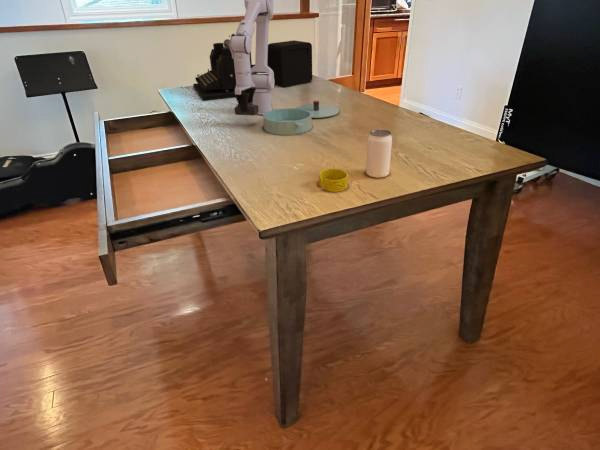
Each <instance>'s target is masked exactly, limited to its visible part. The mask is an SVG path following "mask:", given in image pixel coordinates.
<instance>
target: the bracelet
mask: <svg viewBox="0 0 600 450" xmlns="http://www.w3.org/2000/svg"><path fill="white" fill-rule="evenodd" d="M348 183H349V174H348V173H347V172H346V171H345V170H342V169H339V168H326V169H322V170H320V172H319V173H318V187H323V190H324V191H326V192H332V193H337V192H338V193H339V192H342V191H345V190H347V189H348V187H349V185H348Z"/></svg>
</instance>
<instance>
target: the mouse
mask: <svg viewBox="0 0 600 450" xmlns="http://www.w3.org/2000/svg"><path fill="white" fill-rule="evenodd" d="M258 112H259V110H258V105H254V104H253V103H252V102H250V103H248V108H247V112H241V109H240V106H239V103H238V102H237V105H236V106H235V107H234V115H235V116H256V115H258V114H257V113H258Z"/></svg>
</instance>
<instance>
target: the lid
mask: <svg viewBox="0 0 600 450" xmlns="http://www.w3.org/2000/svg"><path fill="white" fill-rule="evenodd" d="M296 108H297V109H304V110H307V111H309V112H311V114H312V119H322V118H323V119H324V118H328V117H332V116H336V115H337V114H339V112H340V109H339V107H337V106H335V105H331V104H323V103H320V101H319V100H313V102H312V104H311V103H310V104H303V105H300V106H297V107H296Z"/></svg>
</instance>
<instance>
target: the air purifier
mask: <svg viewBox="0 0 600 450" xmlns="http://www.w3.org/2000/svg"><path fill="white" fill-rule="evenodd" d="M267 66H268V67H270V68H271V69H272V70H273V72H274V81H275V83H274V86H280V87H283V88H290V87H294V86H299V85H304V84H305V85H306V84H309V83H311V82H312V81H313V45H312V43H311V42H308V41H303V40H302V41H301V40H287V41H279V42H271V43H268V58H267Z"/></svg>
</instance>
